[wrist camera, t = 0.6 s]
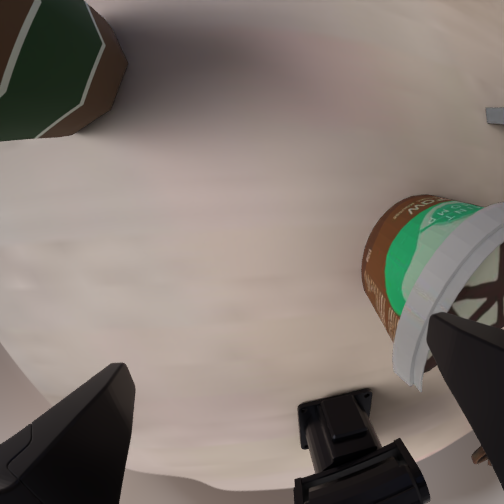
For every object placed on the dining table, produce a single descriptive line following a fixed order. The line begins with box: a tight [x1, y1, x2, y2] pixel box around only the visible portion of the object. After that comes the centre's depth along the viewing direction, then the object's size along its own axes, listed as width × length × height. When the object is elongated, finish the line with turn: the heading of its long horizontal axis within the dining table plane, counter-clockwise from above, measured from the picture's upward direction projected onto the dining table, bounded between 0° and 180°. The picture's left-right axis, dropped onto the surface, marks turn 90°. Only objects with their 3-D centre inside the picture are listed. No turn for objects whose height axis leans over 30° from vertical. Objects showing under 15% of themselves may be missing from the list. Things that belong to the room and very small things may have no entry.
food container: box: [361, 195, 504, 392], centre depth 15 cm, size 12×6×10 cm, turn 114°
